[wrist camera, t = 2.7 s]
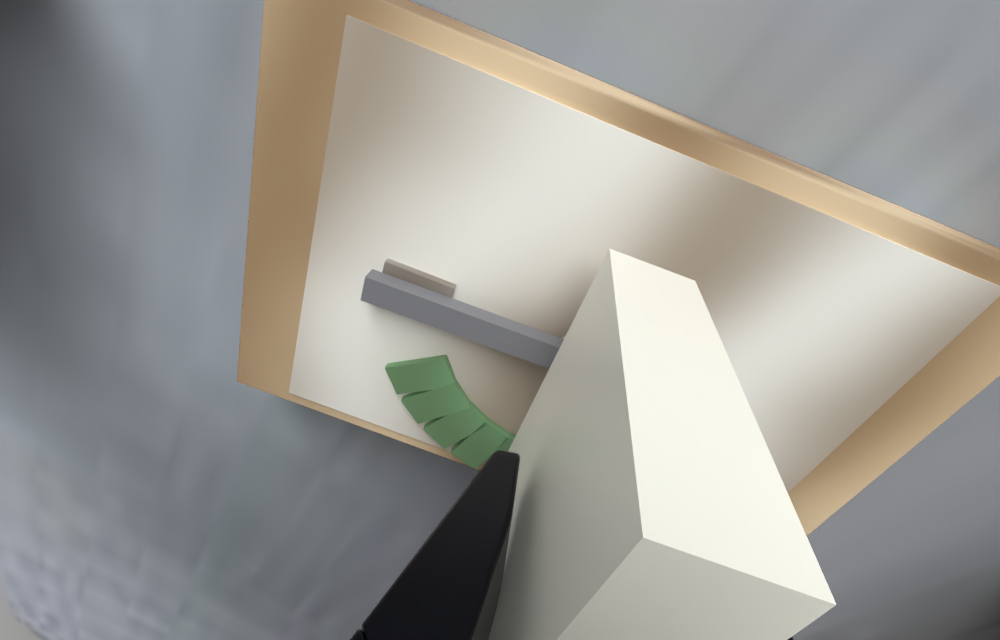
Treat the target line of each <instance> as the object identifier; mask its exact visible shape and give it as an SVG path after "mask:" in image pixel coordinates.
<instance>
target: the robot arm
mask: <svg viewBox="0 0 1000 640" xmlns="http://www.w3.org/2000/svg"><path fill="white" fill-rule="evenodd" d="M519 464H520V455H519V454H517V453H513V452H507V451H501V450H497V451H495V452H494V453H493V454H492V455H491V457H490V458H489V459H488V461H487V462H486V463H485V465H484V466H483V467H482V468H481V470H480V471H479V472H478V474H477V475H476V476H475V478H474V479H473V480H472V482H471V483H470V484H469V485H468V487H467V488H466V489H465V491H464V492H463V493H462V495H461V496H460V497H459V499H458V500H457V501H456V502H455V504H454V505H453V506H452V508H451V509H450V510H449V512H448V513H447V514H446V516H445V517H444V518H443V519H442V521H441V522H440V523H439V525H438V526H437V527H436V529H435V530H434V531H433V532H432V534H431V535H430V536H429V538H428V539H427V540H426V542H425V543H424V544H423V546H422V547H421V548H420V549H419V551H418V552H417V553H416V555H415V556H414V557H413V559H412V560H411V561H410V563H409V564H408V565H407V566H406V568H405V569H404V570H403V572H402V573H401V574H400V576H399V577H398V578H397V580H396V581H395V582H394V583H393V585H392V586H391V587H390V589H389V590H388V591H387V593H386V594H385V595H384V596H383V598H382V599H381V600H380V602H379V603H378V604H377V606H376V607H375V608H374V610H373V611H372V612H371V613H370V615H369V616H368V617H367V619H366V620H365V621H364V623H363V624H362V630H361V629H359V630H357V631H356V633H355V634H354V635H353V637H352V638H351V639H350V640H488V639H489V635H490V631H491V627H492V624H493V620H494V616H495V612H496V608H497V604H498V600H499V595H500V590H501V585H502V579H503V573H504V566H505V560H506V553H507V547H508V540H509V534H510V527H511V521H512V514H513V507H514V500H515V493H516V486H517V479H518V471H519ZM788 640H793V638H792V637H791V638H789V639H788Z"/></svg>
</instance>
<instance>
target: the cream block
mask: <svg viewBox="0 0 1000 640" xmlns="http://www.w3.org/2000/svg"><path fill="white" fill-rule="evenodd" d="M360 300H361V301H364V302H366V303H369V304H372V305H375V306H378V307H380V308H383V309H386V310H389V311H391V312H394V313H397V314H400V315H402V316H405V317H408V318H411V319H413V320H416V321H419V322H422V323H424V324H427V325H430V326H433V327H435V328H438V329H441V330H444V331H446V332H449V333H452V334H455V335H458V336H460V337H463V338H466V339H469V340H471V341H474V342H477V343H480V344H482V345H485V346H488V347H491V348H493V349H496V350H499V351H502V352H504V353H507V354H510V355H513V356H515V357H518V358H521V359H524V360H526V361H529V362H532V363H535V364H538V365H540V366H543V367H546V368H549V370H548V372H547V374H546V376H545V378H544V380H543V382H542V384H541V386H540V388H539V390H538V392H537V394H536V396H535V398H534V400H533V402H532V404H531V406H530V408H529V410H528V412H527V414H526V416H525V418H524V420H523V422H522V424H521V426H520V428H519V430H518V432H517V434H516V436H515V438H514V440H513V442H512V444H511V446H510V448H509V450H508V452H513V453H517V454H519V455H520V464H519V471H518V479H517V486H516V493H515V500H514V507H513V514H512V521H511V527H510V534H509V540H508V547H507V553H506V560H505V566H504V573H503V579H502V585H501V590H500V595H499V600H498V604H497V608H496V612H495V616H494V620H493V624H492V627H491V631H490V635H489V639H488V640H788V639H789V638H791V637H792V636H793V635H795V634H796V633H798V632H799V631H800V630H802V629H803V628H805V627H806V626H807V625H809V624H810V623H812V622H813V621H814V620H816V619H817V618H819V617H820V616H821V615H823V614H824V613H826V612H827V611H828V610H830V609H831V608H833V607H834V606H835V605H836V603H835V600H834V598H833V596H832V594H831V591H830V589H829V587H828V584H827V582H826V580H825V577H824V575H823V573H822V571H821V568H820V566H819V564H818V561H817V559H816V557H815V555H814V552H813V550H812V548H811V545H810V543H809V541H808V538H807V536H806V534H805V532H804V529H803V527H802V525H801V522H800V520H799V518H798V516H797V513H796V511H795V509H794V506H793V504H792V502H791V499H790V497H789V495H788V493H787V490H786V488H785V486H784V483H783V481H782V479H781V476H780V474H779V472H778V470H777V467H776V465H775V463H774V460H773V458H772V456H771V454H770V451H769V449H768V447H767V444H766V442H765V440H764V437H763V435H762V433H761V431H760V428H759V426H758V424H757V421H756V419H755V417H754V415H753V412H752V410H751V408H750V405H749V403H748V401H747V398H746V396H745V394H744V392H743V389H742V387H741V385H740V382H739V380H738V378H737V376H736V373H735V371H734V369H733V366H732V364H731V362H730V359H729V357H728V355H727V353H726V350H725V348H724V346H723V343H722V341H721V339H720V336H719V334H718V332H717V330H716V327H715V325H714V323H713V320H712V318H711V316H710V314H709V311H708V309H707V307H706V304H705V302H704V300H703V297H702V295H701V293H700V291H699V288H698V286H697V284H696V281H695V280H692V279H689V278H687V277H684V276H681V275H679V274H676V273H673V272H671V271H668V270H665V269H663V268H660V267H657V266H655V265H652V264H650V263H647V262H644V261H642V260H639V259H636V258H634V257H631V256H628V255H626V254H623V253H620V252H618V251H615V250H612V249H610V248H609V250H608V252H607V254H606V256H605V258H604V260H603V262H602V264H601V266H600V268H599V270H598V272H597V274H596V276H595V278H594V280H593V282H592V284H591V286H590V288H589V290H588V292H587V294H586V296H585V298H584V300H583V302H582V304H581V306H580V308H579V310H578V312H577V314H576V316H575V318H574V320H573V322H572V324H571V326H570V328H569V330H568V332H567V334H566V335H565V336H564V337H563V338H560V337H557V336H554V335H551V334H549V333H546V332H543V331H540V330H538V329H535V328H532V327H529V326H527V325H524V324H521V323H519V322H516V321H513V320H510V319H508V318H505V317H502V316H499V315H497V314H494V313H491V312H489V311H486V310H483V309H480V308H478V307H475V306H472V305H469V304H467V303H464V302H461V301H458V300H456V299H453V298H450V297H448V296H445V295H442V294H439V293H437V292H434V291H431V290H428V289H426V288H423V287H420V286H417V285H415V284H412V283H409V282H407V281H404V280H401V279H398V278H396V277H393V276H390V275H387V274H385V273H382V272H379V271H377V270H374V269H372V270H371V271H370V272H369V273H368V274H367V275H366V276H365V280H364V285H363V290H362V295H361V299H360Z"/></svg>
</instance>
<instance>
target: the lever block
mask: <svg viewBox="0 0 1000 640" xmlns="http://www.w3.org/2000/svg"><path fill="white" fill-rule="evenodd" d="M609 248H610V249H612V250H615V251H618V252H620V253H623V254H626V255H628V256H631V257H634V258H636V259H639V260H642V261H644V262H647V263H650V264H652V265H655V266H657V267H660V268H663V269H665V270H668V271H671V272H673V273H676V274H679V275H681V276H684V277H687V278H689V279H692V280H695V281H696V284H697V286H698V288H699V291H700V293H701V295H702V297H703V300H704V302H705V304H706V307H707V309H708V311H709V314H710V316H711V318H712V320H713V323H714V325H715V327H716V330H717V332H718V334H719V336H720V339H721V341H722V343H723V346H724V348H725V350H726V353H727V355H728V357H729V359H730V362H731V364H732V366H733V369H734V371H735V373H736V376H737V378H738V380H739V382H740V385H741V387H742V389H743V392H744V394H745V396H746V398H747V401H748V403H749V405H750V408H751V410H752V412H753V415H754V417H755V419H756V421H757V424H758V426H759V428H760V431H761V433H762V435H763V437H764V440H765V442H766V444H767V447H768V449H769V451H770V454H771V456H772V458H773V460H774V463H775V465H776V467H777V470H778V472H779V474H780V476H781V479H782V481H783V483H784V486H785V488H786V490H787V493H788V495H789V497H790V499H791V502H792V504H793V506H794V509H795V511H796V513H797V516H798V518H799V520H800V522H801V525H802V527H803V529H804V532H805V534H806V536H807V535H808V534H809V533H811V532H812V531H813V530H814V529H816V528H817V527H818V526H819V525H820V524H822V523H823V522H824V521H825V520H826V519H828V518H829V517H830V516H831V515H832V514H834V513H835V512H836V511H837V510H838V509H840V508H841V507H842V506H843V505H844V504H846V503H847V502H848V501H849V500H850V499H852V498H853V497H854V496H855V495H856V494H858V493H859V492H860V491H861V490H862V489H864V488H865V487H866V486H867V485H868V484H870V483H871V482H872V481H873V480H874V479H876V478H877V477H878V476H879V475H880V474H882V473H883V472H884V471H885V470H887V469H888V468H889V467H890V466H891V465H893V464H894V463H895V462H896V461H897V460H899V459H900V458H901V457H902V456H903V455H905V454H906V453H907V452H908V451H909V450H911V449H912V448H913V447H914V446H915V445H917V444H918V443H919V442H920V441H921V440H923V439H924V438H925V437H926V436H927V435H929V434H930V433H931V432H932V431H933V430H935V429H936V428H937V427H938V426H939V425H941V424H942V423H943V422H944V421H945V420H947V419H948V418H949V417H950V416H952V415H953V414H954V413H955V412H956V411H958V410H959V409H960V408H961V407H962V406H964V405H965V404H966V403H967V402H968V401H970V400H971V399H972V398H973V397H974V396H976V395H977V394H978V393H979V392H980V391H982V390H983V389H984V388H985V387H986V386H988V385H989V384H990V383H991V382H992V381H994V380H995V379H996V378H997V377H998V376H1000V249H999V248H997V247H994V246H992V245H990V244H987V243H985V242H983V241H980V240H978V239H975V238H973V237H971V236H968V235H966V234H964V233H961V232H959V231H956V230H954V229H952V228H949V227H947V226H945V225H942V224H940V223H937V222H935V221H933V220H930V219H928V218H926V217H923V216H921V215H918V214H916V213H914V212H911V211H909V210H907V209H904V208H902V207H899V206H897V205H895V204H892V203H890V202H887V201H885V200H883V199H880V198H878V197H876V196H873V195H871V194H868V193H866V192H864V191H861V190H859V189H857V188H854V187H852V186H849V185H847V184H845V183H842V182H840V181H838V180H835V179H833V178H830V177H828V176H826V175H823V174H821V173H819V172H816V171H814V170H811V169H809V168H807V167H804V166H802V165H800V164H797V163H795V162H792V161H790V160H788V159H785V158H783V157H780V156H778V155H776V154H773V153H771V152H769V151H766V150H764V149H761V148H759V147H757V146H754V145H752V144H750V143H747V142H745V141H742V140H740V139H738V138H735V137H733V136H731V135H728V134H726V133H723V132H721V131H719V130H716V129H714V128H712V127H709V126H707V125H704V124H702V123H700V122H697V121H695V120H693V119H690V118H688V117H685V116H683V115H681V114H678V113H676V112H673V111H671V110H669V109H666V108H664V107H662V106H659V105H657V104H654V103H652V102H650V101H647V100H645V99H643V98H640V97H638V96H635V95H633V94H631V93H628V92H626V91H624V90H621V89H619V88H616V87H614V86H612V85H609V84H607V83H605V82H602V81H600V80H597V79H595V78H593V77H590V76H588V75H586V74H583V73H581V72H578V71H576V70H574V69H571V68H569V67H566V66H564V65H562V64H559V63H557V62H555V61H552V60H550V59H547V58H545V57H543V56H540V55H538V54H536V53H533V52H531V51H528V50H526V49H524V48H521V47H519V46H517V45H514V44H512V43H509V42H507V41H505V40H502V39H500V38H498V37H495V36H493V35H490V34H488V33H486V32H483V31H481V30H479V29H476V28H474V27H471V26H469V25H467V24H464V23H462V22H459V21H457V20H455V19H452V18H450V17H448V16H445V15H443V14H440V13H438V12H436V11H433V10H431V9H429V8H426V7H424V6H421V5H419V4H417V3H414V2H412V1H410V0H264V12H263V26H262V40H261V54H260V68H259V81H258V95H257V109H256V123H255V137H254V151H253V164H252V178H251V192H250V206H249V220H248V234H247V248H246V261H245V275H244V289H243V303H242V317H241V331H240V345H239V358H238V372H237V382H240V383H243V384H245V385H248V386H251V387H254V388H256V389H259V390H262V391H265V392H267V393H270V394H273V395H276V396H278V397H281V398H284V399H286V400H289V401H292V402H295V403H297V404H300V405H303V406H306V407H308V408H311V409H314V410H317V411H319V412H322V413H325V414H328V415H330V416H333V417H336V418H339V419H341V420H344V421H347V422H349V423H352V424H355V425H358V426H360V427H363V428H366V429H369V430H371V431H374V432H377V433H380V434H382V435H385V436H388V437H391V438H393V439H396V440H399V441H402V442H404V443H407V444H410V445H412V446H415V447H418V448H421V449H423V450H426V451H429V452H432V453H434V454H437V455H440V456H443V457H445V458H448V459H451V460H454V461H456V462H459V463H462V464H465V465H467V466H470V467H472V468H474V469H478V470H481V468H482V467H483V466H484V465H485V463H486V462H487V461H488V459H489V458H490V457H491V455H492V454H493V453H494V452H495V451H497V450H501V451H507V452H508V450H509V448H510V446H511V444H512V442H513V440H514V438H515V436H516V434H517V432H518V430H519V428H520V426H521V424H522V422H523V420H524V418H525V416H526V414H527V412H528V410H529V408H530V406H531V404H532V402H533V400H534V398H535V396H536V394H537V392H538V390H539V388H540V386H541V384H542V382H543V380H544V378H545V376H546V374H547V372H548V370H549V368H546V367H543V366H540V365H538V364H535V363H532V362H529V361H526V360H524V359H521V358H518V357H515V356H513V355H510V354H507V353H504V352H502V351H499V350H496V349H493V348H491V347H488V346H485V345H482V344H480V343H477V342H474V341H471V340H469V339H466V338H463V337H460V336H458V335H455V334H452V333H449V332H446V331H444V330H441V329H438V328H435V327H433V326H430V325H427V324H424V323H422V322H419V321H416V320H413V319H411V318H408V317H405V316H402V315H400V314H397V313H394V312H391V311H389V310H386V309H383V308H380V307H378V306H375V305H372V304H369V303H366V302H364V301H361V300H360V299H361V295H362V290H363V285H364V280H365V276H366V275H367V274H368V273H369V272H370V271H371V270H372V269H374V270H377V271H379V272H382V273H385V274H387V275H390V276H393V277H396V278H398V279H401V280H404V281H407V282H409V283H412V284H415V285H417V286H420V287H423V288H426V289H428V290H431V291H434V292H437V293H439V294H442V295H445V296H448V297H450V298H453V299H456V300H458V301H461V302H464V303H467V304H469V305H472V306H475V307H478V308H480V309H483V310H486V311H489V312H491V313H494V314H497V315H499V316H502V317H505V318H508V319H510V320H513V321H516V322H519V323H521V324H524V325H527V326H529V327H532V328H535V329H538V330H540V331H543V332H546V333H549V334H551V335H554V336H557V337H560V338H563V337H564V336H565V335H566V334H567V332H568V330H569V328H570V326H571V324H572V322H573V320H574V318H575V316H576V314H577V312H578V310H579V308H580V306H581V304H582V302H583V300H584V298H585V296H586V294H587V292H588V290H589V288H590V286H591V284H592V282H593V280H594V278H595V276H596V274H597V272H598V270H599V268H600V266H601V264H602V262H603V260H604V258H605V256H606V254H607V252H608V250H609Z"/></svg>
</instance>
